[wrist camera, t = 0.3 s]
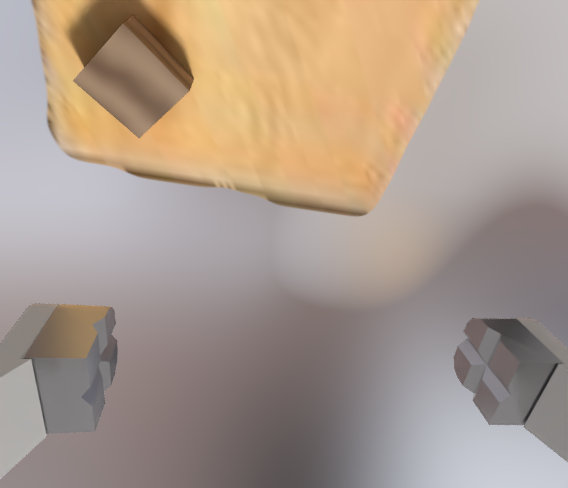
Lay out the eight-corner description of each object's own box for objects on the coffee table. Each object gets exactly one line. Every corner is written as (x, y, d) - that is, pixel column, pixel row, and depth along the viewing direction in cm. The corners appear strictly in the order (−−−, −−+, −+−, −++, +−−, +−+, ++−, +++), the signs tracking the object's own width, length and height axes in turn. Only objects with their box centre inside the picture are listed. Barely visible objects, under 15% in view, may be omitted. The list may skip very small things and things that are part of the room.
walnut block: (132, 14, 49) (123, 23, 46) (193, 79, 54) (189, 91, 51) (85, 69, 53) (72, 80, 49) (146, 124, 58) (139, 138, 55)
